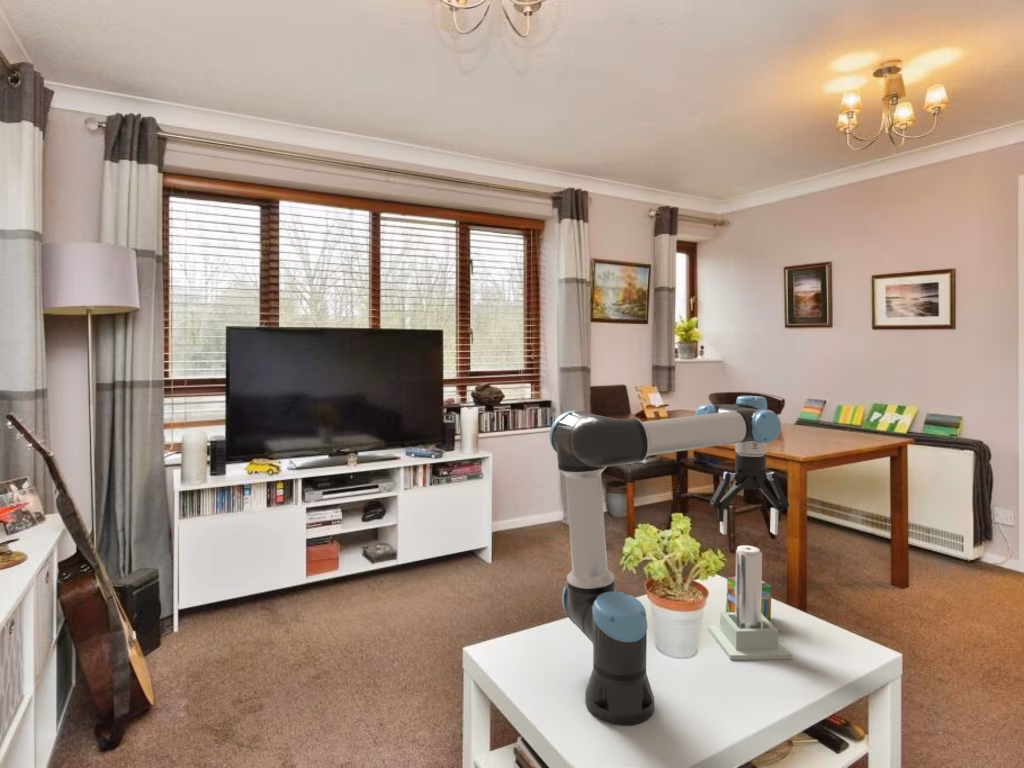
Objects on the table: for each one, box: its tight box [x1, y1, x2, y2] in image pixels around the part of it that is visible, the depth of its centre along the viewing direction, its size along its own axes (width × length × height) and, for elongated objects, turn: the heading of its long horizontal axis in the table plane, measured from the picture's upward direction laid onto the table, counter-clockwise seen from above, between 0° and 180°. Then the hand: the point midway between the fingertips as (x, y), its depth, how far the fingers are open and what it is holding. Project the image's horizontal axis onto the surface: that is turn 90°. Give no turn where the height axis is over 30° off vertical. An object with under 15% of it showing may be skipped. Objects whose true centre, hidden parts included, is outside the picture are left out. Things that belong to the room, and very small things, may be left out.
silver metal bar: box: [735, 545, 763, 629], centre depth 155 cm, size 6×6×25 cm
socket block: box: [707, 611, 793, 661], centre depth 155 cm, size 16×16×6 cm
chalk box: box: [725, 576, 773, 624], centre depth 169 cm, size 9×9×15 cm
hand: (748, 533), depth 154 cm, fingers open, 13 cm apart
